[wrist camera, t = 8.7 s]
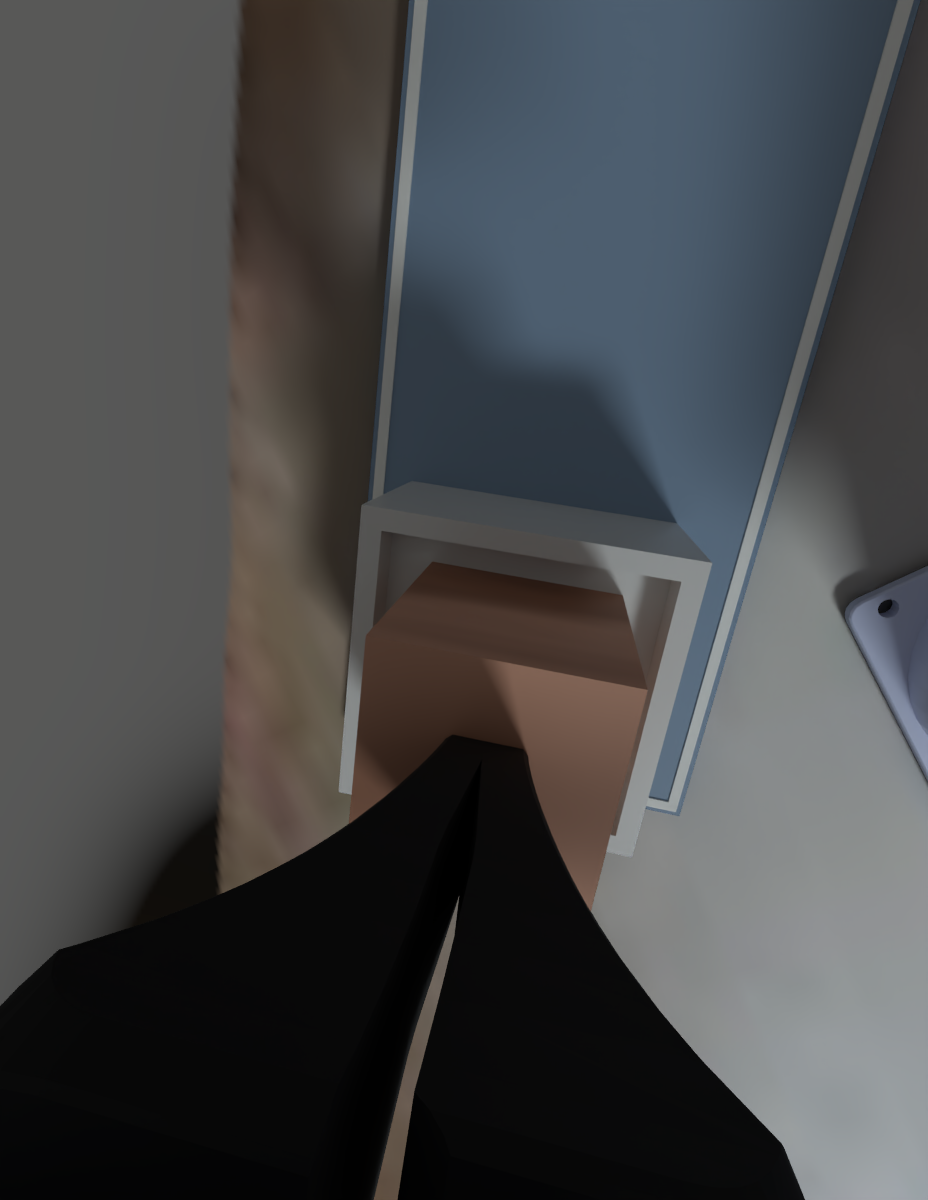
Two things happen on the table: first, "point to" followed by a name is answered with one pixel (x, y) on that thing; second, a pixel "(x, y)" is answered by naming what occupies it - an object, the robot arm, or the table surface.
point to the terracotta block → (507, 695)
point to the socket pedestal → (547, 553)
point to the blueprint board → (625, 263)
